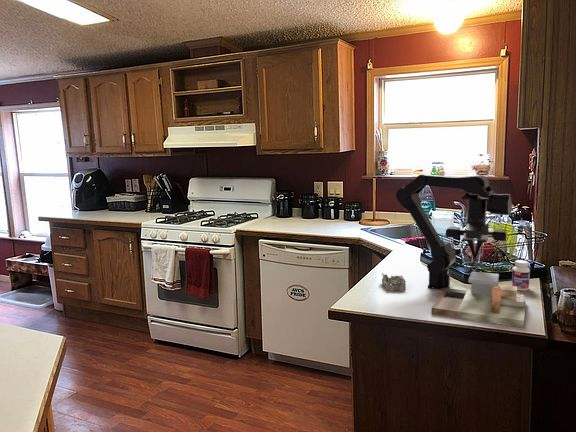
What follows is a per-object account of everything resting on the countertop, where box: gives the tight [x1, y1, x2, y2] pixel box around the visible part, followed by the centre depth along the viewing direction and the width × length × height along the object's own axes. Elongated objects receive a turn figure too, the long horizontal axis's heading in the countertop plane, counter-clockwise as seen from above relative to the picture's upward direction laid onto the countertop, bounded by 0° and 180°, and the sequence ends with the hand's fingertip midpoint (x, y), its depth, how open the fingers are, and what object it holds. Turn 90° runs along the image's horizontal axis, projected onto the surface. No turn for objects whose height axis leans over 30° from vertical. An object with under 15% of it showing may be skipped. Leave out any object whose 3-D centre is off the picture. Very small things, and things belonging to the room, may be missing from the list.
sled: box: [491, 286, 525, 312], centre depth 138 cm, size 8×15×7 cm, turn 152°
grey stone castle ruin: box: [381, 272, 407, 292], centre depth 167 cm, size 11×8×4 cm
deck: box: [430, 287, 527, 329], centre depth 143 cm, size 25×21×2 cm
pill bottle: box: [511, 259, 531, 292], centre depth 161 cm, size 5×5×10 cm
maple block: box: [500, 284, 518, 300], centre depth 143 cm, size 4×4×4 cm
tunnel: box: [468, 271, 500, 296], centre depth 146 cm, size 8×9×7 cm
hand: (474, 258), depth 157 cm, fingers closed
